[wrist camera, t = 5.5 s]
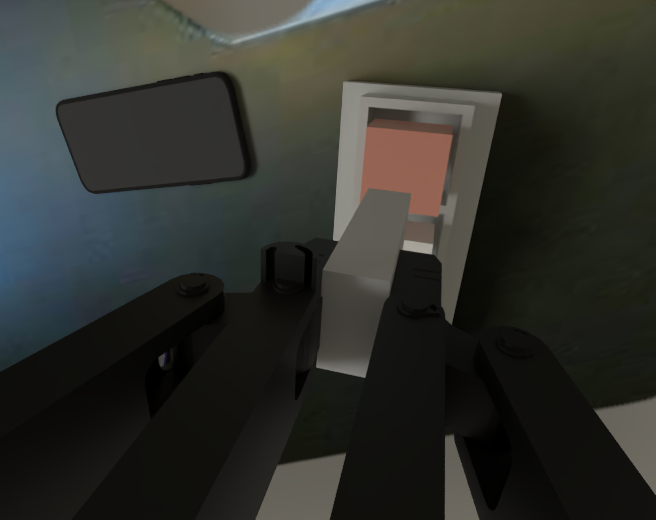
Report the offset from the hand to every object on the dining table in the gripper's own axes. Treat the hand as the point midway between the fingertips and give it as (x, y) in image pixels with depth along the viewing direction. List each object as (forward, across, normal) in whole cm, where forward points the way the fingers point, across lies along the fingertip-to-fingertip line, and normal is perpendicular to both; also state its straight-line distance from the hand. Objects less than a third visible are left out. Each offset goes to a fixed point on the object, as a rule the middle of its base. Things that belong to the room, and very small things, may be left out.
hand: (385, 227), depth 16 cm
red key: (+10, 0, 0) cm, 10 cm away
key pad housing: (+14, 0, -5) cm, 15 cm away
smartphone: (+15, -19, -1) cm, 24 cm away
